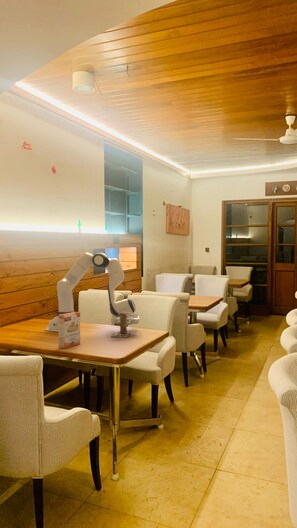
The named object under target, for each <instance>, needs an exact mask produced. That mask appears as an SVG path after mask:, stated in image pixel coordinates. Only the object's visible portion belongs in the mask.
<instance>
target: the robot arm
mask: <svg viewBox="0 0 297 528" xmlns="http://www.w3.org/2000/svg"><path fill="white" fill-rule="evenodd" d="M92 266H95V267H96V268H106V270H107V273H108V276H109V281H108V282H107V293H108V295H107V296H108V301H109V302H108V303H109V312H110V314H111V315H113V317H111V318H110V319H111V320H110V322H111V324H118V325H120V312H127V321H126V324H127V326H129V325H139V324H140V315H139V314H137V312H136V305H135V302H134V301H133V300H132V299H131V298H125V299H123V300H122V299H121V300H119V301H118V300H117V301H116V297H115V295H116V294H115V289H116V288H117V287H118V286H119V285H121V284H122V283H123V282H124V280H125V272H124V269H123V267H122V264H121V262H120V260H119V259H118V258H116V257H113V258H109V256H108V254H106V253H104V252H97V253H95V254H94V255H93V254H92V253H90V252H84V253H83V254H82V255H80V256H79V257H78V259H77V260H76V261H75V262H74V263H73V264H72V266H71V267H70V268H69V270H68V271H67V273H66V274H65V275H64V277H63V278H61V279H59V280H58V282H57V284H56V292H57V300H58V311H55V315H56V316H55V317H53V318H52V319H51V320H50V321H49V322H48V326H47V327H46V328H45V331H47V332H56V333H57V332H58V333H59V317H58V316H59V315H61V314H66V313H71V312H75V310H74V305H75V304H74V296H73V290H74V289H75V287H76V286H77V285H78V283H79V282H81V279H82V278H83V277H84V276H85V274H87V272H88V271H89V270H90V268H92Z"/></svg>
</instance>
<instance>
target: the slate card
mask: <svg viewBox="0 0 297 528" xmlns="http://www.w3.org/2000/svg"><path fill="white" fill-rule="evenodd" d="M130 336H131V334H130V333H129V334H128V333H127V334H120V333H113V334H112V335H111V336H110V338H117V339H118V338H119V339H128V338H129V337H130Z"/></svg>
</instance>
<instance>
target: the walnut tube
mask: <svg viewBox="0 0 297 528" xmlns="http://www.w3.org/2000/svg"><path fill="white" fill-rule="evenodd" d="M119 317H120V324H119V334H128V333H127V332H128V331H127V328H128V327H127V326H128V325H127V324H126V321H127V312H120V315H119Z"/></svg>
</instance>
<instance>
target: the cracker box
mask: <svg viewBox="0 0 297 528" xmlns="http://www.w3.org/2000/svg"><path fill="white" fill-rule="evenodd" d="M58 317H59V332H58V348H60V349H64V350H65V349H68V348H71V347H74V346H75V347H76V346H78V345H80V344H81V312H79V311H74V312H71V313H66V314H61V315H59V316H58Z"/></svg>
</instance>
